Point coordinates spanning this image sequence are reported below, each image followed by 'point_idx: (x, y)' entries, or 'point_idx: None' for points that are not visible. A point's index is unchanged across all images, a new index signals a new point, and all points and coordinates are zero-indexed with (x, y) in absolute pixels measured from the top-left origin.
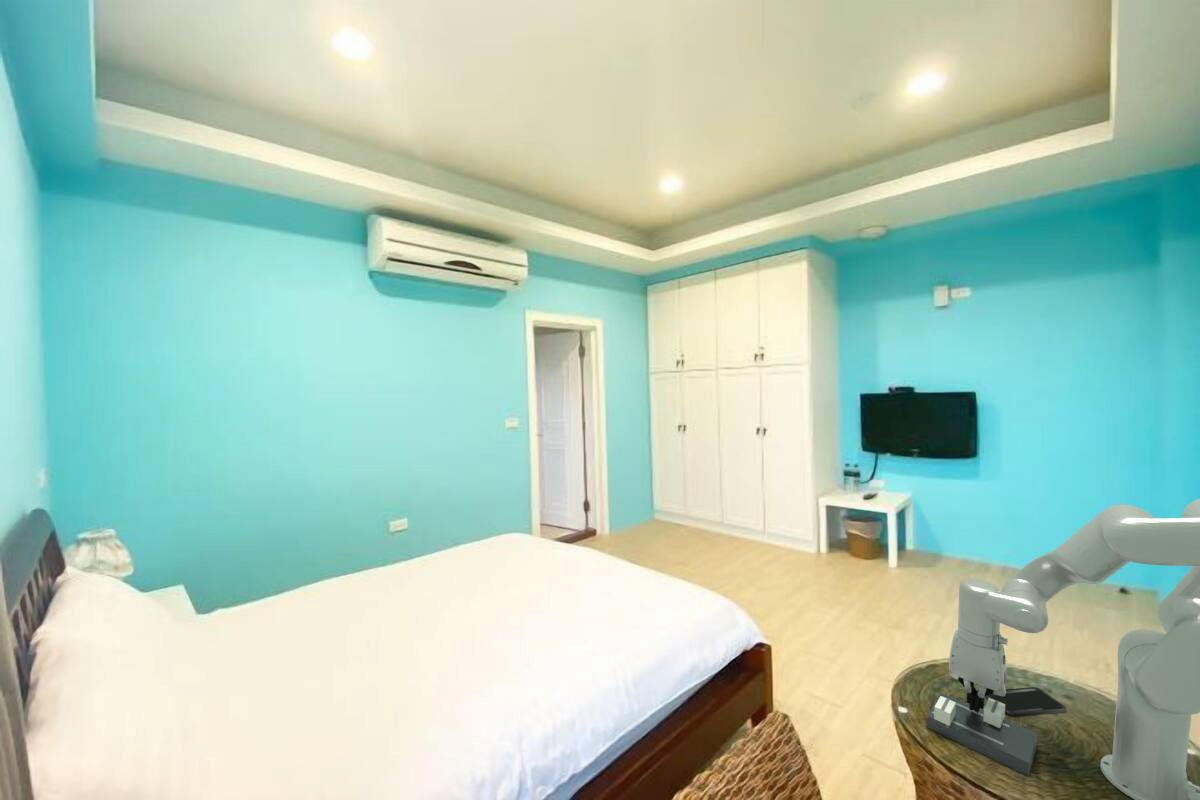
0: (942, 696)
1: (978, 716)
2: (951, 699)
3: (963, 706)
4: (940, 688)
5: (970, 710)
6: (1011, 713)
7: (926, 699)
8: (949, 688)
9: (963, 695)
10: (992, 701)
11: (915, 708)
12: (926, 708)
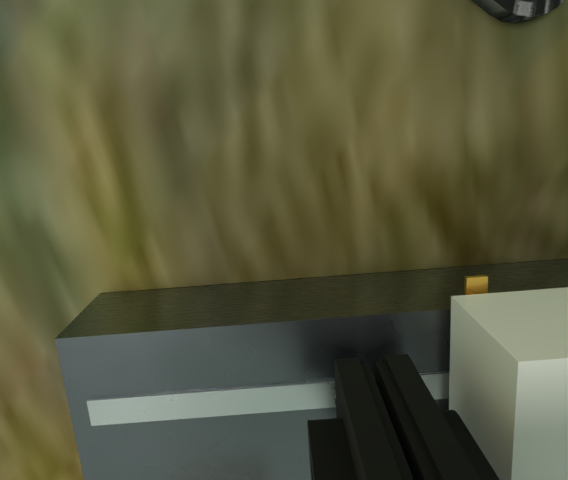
0: (94, 384)
1: None
2: (164, 367)
3: (272, 393)
4: (8, 77)
5: (330, 402)
6: (551, 7)
7: (14, 321)
8: (56, 8)
9: (177, 21)
10: (564, 406)
11: (20, 471)
12: (65, 418)
